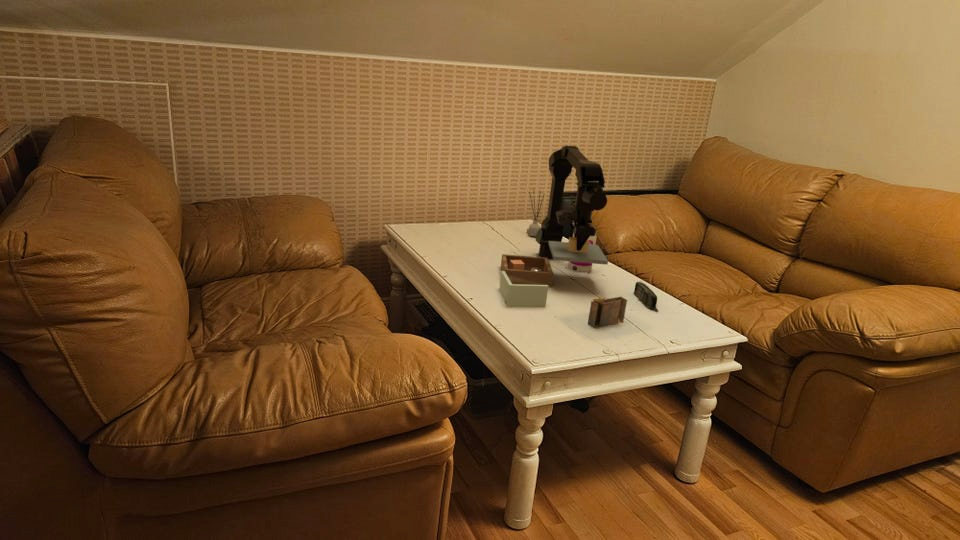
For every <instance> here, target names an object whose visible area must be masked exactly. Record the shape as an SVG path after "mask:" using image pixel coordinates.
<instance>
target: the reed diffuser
mask: <svg viewBox="0 0 960 540" xmlns="http://www.w3.org/2000/svg"><path fill="white" fill-rule="evenodd" d="M532 190H533V193H535V189H534V188H533V189H532ZM528 193H529V196H530V202H531V207H532V212H533V217H534V218H533V219H532V223H531V224H529V226H528V228H526V233H527V234H528V236H530V237H536V234H537V232H538V231H539V229H540V228H541V225H539V224H538V222H539V219H538V218H539V214H540V211H541V208H542V204H543V200H544V198H545V194H543V196H542V200H541V202H540V199H541V195H539V196H538V205H537V209H538V210H537V212H536V213H537V214H535V210H536V204H535V203H536V201H535V197H533V200H532V195H531V191H529V192H528ZM539 194H542V193H541V190H539ZM533 206H534V207H533Z"/></svg>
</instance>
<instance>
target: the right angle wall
mask: <svg viewBox="0 0 960 540" xmlns="http://www.w3.org/2000/svg"><path fill="white" fill-rule="evenodd" d="M499 280H500V281H499V291H500V293H501V295H502V297H503V299H504V303H505V306H506V307H507V308H546V306H547V299H548V294H549V293H548V291H549V287H548V285H522V284H512V283H511V281H510V279H509V278H508V276H507V274H506V273H505V271H501V272H500V279H499Z"/></svg>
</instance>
